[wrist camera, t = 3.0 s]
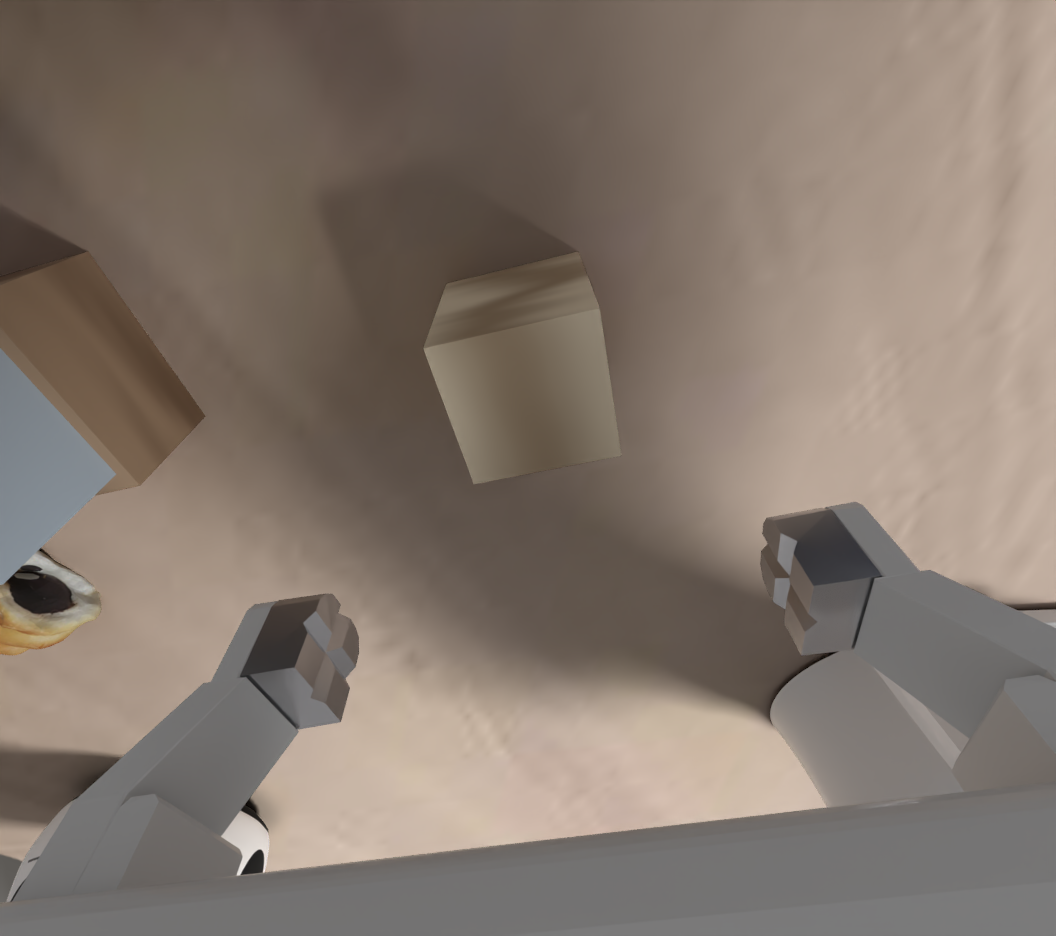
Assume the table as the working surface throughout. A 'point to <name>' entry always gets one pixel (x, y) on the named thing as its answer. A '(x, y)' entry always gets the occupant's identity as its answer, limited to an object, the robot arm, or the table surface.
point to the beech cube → (524, 369)
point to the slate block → (38, 469)
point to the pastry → (43, 605)
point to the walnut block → (95, 365)
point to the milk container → (241, 833)
